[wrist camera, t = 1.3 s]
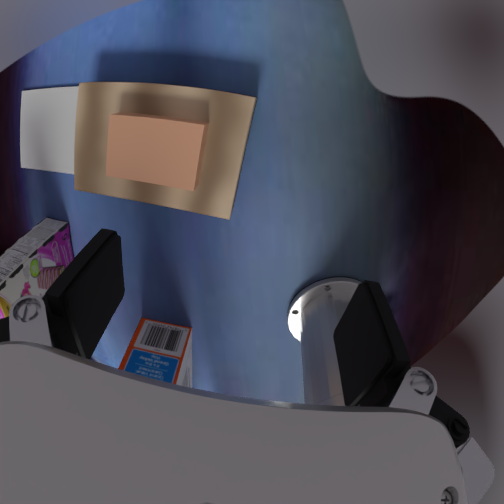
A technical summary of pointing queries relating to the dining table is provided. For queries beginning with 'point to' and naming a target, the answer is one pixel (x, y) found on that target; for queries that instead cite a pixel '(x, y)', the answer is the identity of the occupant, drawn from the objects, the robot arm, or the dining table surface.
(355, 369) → the robot arm
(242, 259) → the dining table surface
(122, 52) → the dining table surface
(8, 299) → the candy bar box
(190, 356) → the pasta box
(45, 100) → the mat
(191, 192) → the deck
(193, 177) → the block
